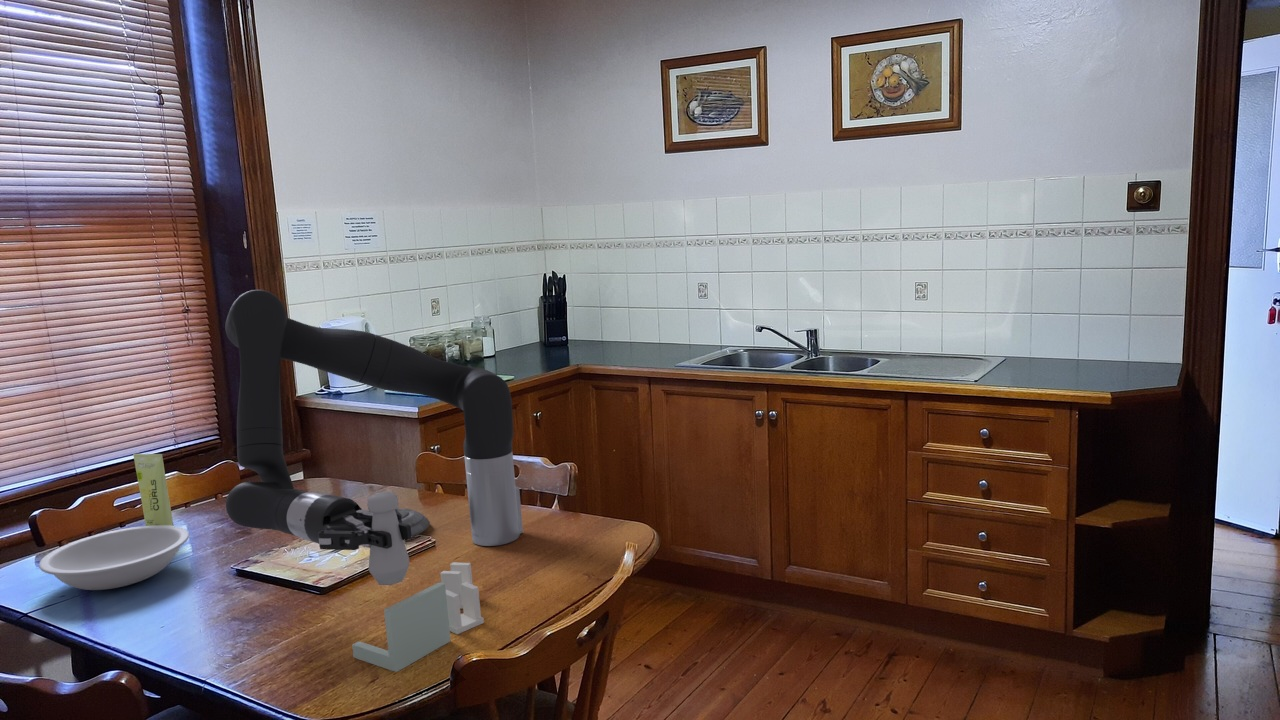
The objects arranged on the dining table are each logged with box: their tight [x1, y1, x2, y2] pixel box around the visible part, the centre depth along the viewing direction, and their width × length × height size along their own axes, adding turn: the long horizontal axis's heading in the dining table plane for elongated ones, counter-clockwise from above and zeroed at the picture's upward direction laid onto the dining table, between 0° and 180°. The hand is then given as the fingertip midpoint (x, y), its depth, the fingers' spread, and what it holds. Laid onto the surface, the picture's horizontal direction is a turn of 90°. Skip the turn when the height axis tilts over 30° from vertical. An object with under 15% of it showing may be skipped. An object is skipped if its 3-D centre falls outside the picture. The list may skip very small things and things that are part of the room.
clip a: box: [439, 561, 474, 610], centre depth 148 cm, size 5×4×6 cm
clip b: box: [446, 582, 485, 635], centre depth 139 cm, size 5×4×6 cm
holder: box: [351, 581, 452, 673], centre depth 132 cm, size 10×9×9 cm
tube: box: [133, 453, 175, 526], centre depth 183 cm, size 6×5×20 cm
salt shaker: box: [366, 491, 410, 586], centre depth 130 cm, size 6×6×13 cm
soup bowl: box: [38, 525, 190, 591], centre depth 166 cm, size 24×24×7 cm
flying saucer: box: [396, 507, 431, 538], centre depth 183 cm, size 15×15×6 cm
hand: (399, 536), depth 129 cm, fingers closed on salt shaker, 3 cm apart
